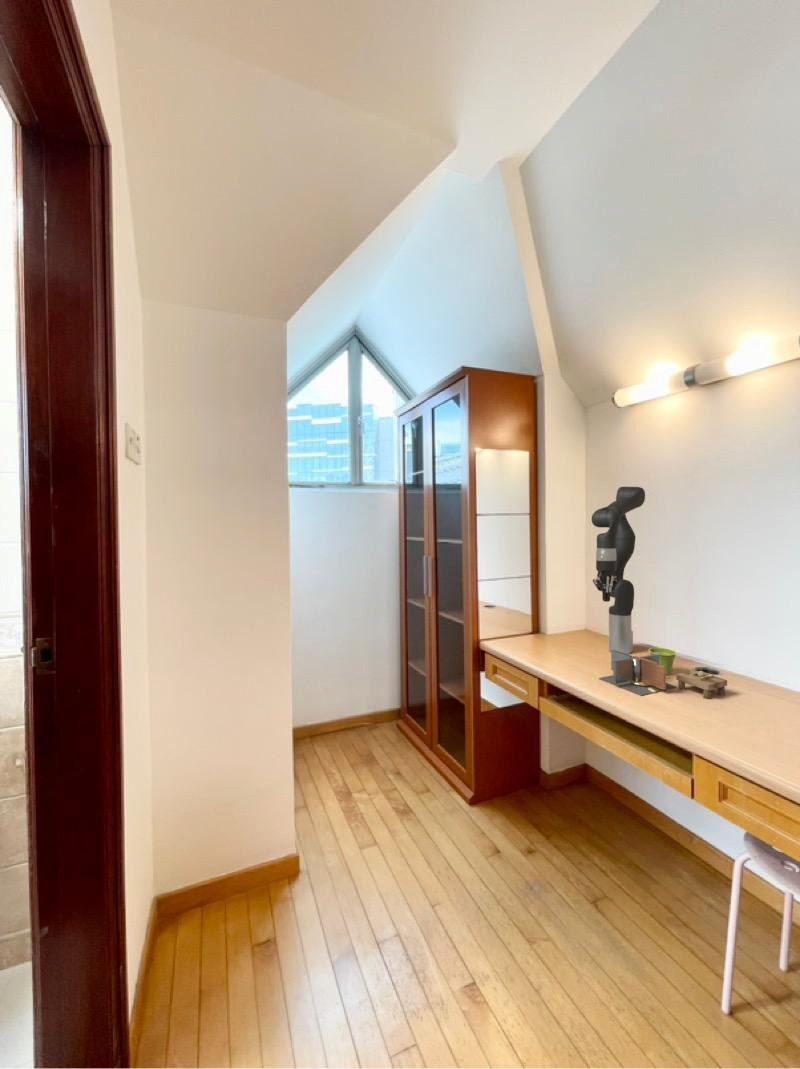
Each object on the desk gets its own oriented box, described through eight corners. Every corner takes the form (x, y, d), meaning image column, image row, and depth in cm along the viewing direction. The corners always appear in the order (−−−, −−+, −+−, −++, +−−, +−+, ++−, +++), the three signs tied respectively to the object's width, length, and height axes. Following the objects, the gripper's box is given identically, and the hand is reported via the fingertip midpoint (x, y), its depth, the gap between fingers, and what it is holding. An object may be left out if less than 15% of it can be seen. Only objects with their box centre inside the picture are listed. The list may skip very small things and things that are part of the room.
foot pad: (632, 671, 174) (632, 669, 173) (678, 687, 156) (678, 685, 156) (598, 678, 166) (598, 676, 166) (642, 696, 149) (642, 694, 149)
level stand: (694, 683, 160) (694, 664, 160) (727, 694, 150) (727, 673, 150) (676, 688, 156) (676, 668, 156) (708, 699, 146) (708, 678, 146)
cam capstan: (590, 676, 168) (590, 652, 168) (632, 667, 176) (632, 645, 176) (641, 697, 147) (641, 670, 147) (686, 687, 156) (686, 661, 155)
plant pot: (681, 677, 167) (681, 654, 166) (656, 677, 167) (656, 654, 167) (668, 669, 176) (668, 647, 176) (644, 668, 177) (644, 647, 176)
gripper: (610, 557, 185) (610, 598, 185) (586, 559, 180) (587, 601, 180) (625, 558, 178) (625, 601, 178) (601, 560, 173) (601, 604, 173)
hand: (606, 601), depth 179 cm, fingers closed
